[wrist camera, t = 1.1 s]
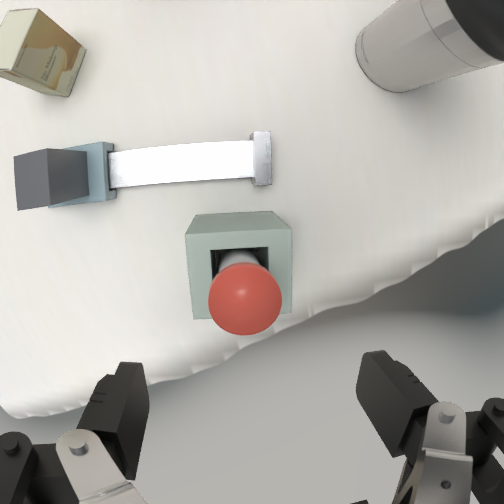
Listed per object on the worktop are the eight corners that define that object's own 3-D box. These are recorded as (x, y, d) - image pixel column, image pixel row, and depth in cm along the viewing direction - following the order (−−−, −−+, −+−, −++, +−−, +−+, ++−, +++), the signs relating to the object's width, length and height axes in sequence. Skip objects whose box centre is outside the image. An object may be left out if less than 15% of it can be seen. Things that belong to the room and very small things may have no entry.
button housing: (271, 210, 34) (291, 228, 24) (273, 275, 36) (291, 314, 26) (195, 215, 33) (184, 234, 24) (200, 280, 35) (193, 321, 25)
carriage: (112, 143, 30) (65, 135, 19) (116, 197, 32) (70, 212, 21) (57, 153, 30) (-2, 152, 19) (61, 204, 31) (4, 221, 20)
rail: (264, 135, 32) (270, 131, 28) (266, 182, 33) (272, 184, 29) (45, 159, 30) (27, 159, 26) (48, 202, 31) (30, 206, 27)
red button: (261, 232, 29) (281, 265, 19) (263, 280, 30) (282, 332, 21) (210, 235, 29) (204, 270, 19) (214, 283, 30) (211, 337, 20)
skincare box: (69, 97, 28) (10, 74, 17) (41, 94, 28) (-21, 74, 16) (88, 46, 27) (39, 6, 15) (59, 45, 26) (6, 9, 15)
